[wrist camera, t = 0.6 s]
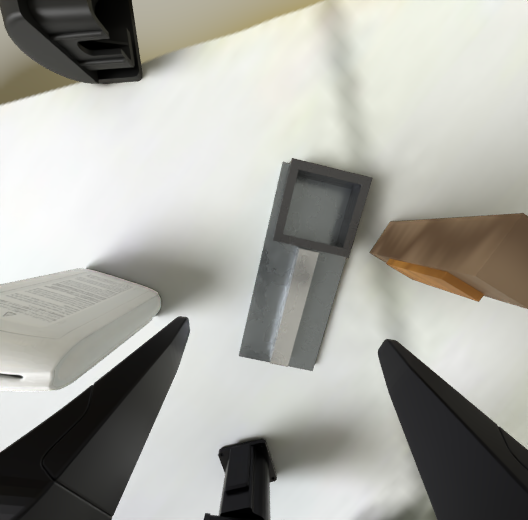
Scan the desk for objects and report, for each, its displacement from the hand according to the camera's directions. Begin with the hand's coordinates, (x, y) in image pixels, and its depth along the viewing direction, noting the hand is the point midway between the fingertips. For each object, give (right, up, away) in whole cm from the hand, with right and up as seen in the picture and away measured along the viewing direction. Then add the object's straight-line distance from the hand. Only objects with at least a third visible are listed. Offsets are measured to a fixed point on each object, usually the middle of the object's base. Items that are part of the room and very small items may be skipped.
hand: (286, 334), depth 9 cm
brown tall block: (+14, +5, +13) cm, 19 cm away
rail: (+3, +2, +13) cm, 14 cm away
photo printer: (-18, -1, +14) cm, 23 cm away
